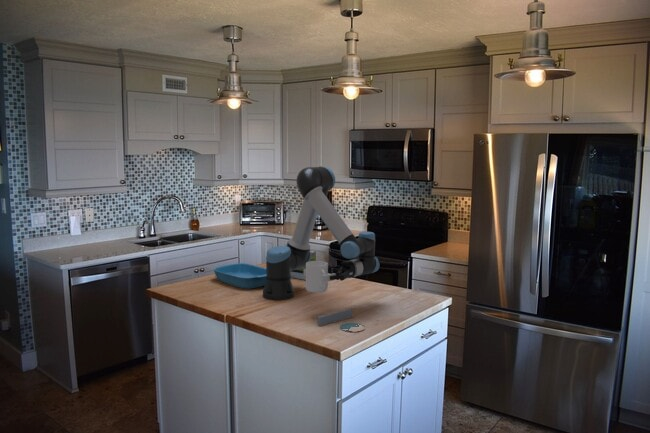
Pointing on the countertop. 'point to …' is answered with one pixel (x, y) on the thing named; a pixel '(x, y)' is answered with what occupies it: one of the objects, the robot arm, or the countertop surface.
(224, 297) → the countertop surface
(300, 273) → the tea box
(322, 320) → the wall
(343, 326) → the pad
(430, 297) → the countertop surface
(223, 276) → the casserole dish
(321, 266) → the mug
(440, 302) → the countertop surface
